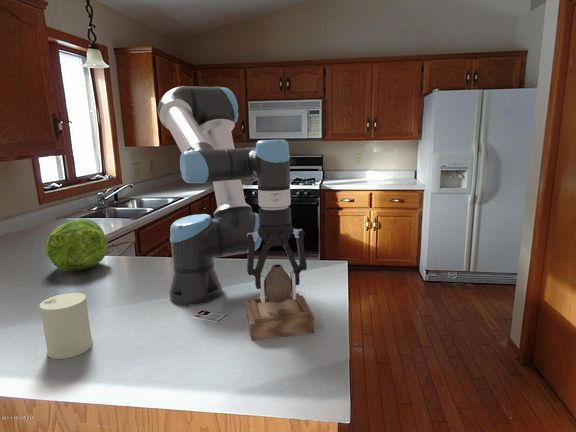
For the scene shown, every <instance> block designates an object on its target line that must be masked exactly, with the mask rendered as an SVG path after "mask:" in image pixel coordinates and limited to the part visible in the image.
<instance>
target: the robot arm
mask: <svg viewBox="0 0 576 432" xmlns="http://www.w3.org/2000/svg"><path fill="white" fill-rule="evenodd" d="M157 114H158V115H157V116H158V119H159V121H160V123H161V124H162V126H163V127H165V128H166V129H167V130H169V132H170V134H171V135H172V137H173V139H174V141H175V143H176V145H177V146H178V149H179V150H180V152H181V154H180V157H179V168H180V173H181V178H182V180H183V181H184V182H185V183H188V184H204V183H212V184H213V190H214V195H215V199H216V201H215V202H216V207H217V208H216V209H215V210H214V212H213V216H214V218H213V217H212V216H211V215H210V214H207V213H201V214H199V213H198V214H192V215H187V216H184V217H181V218H178V219H176V220H175V221H174V222H172V224H171V225H170V230H169V231H170V237H169V241H170V243H171V244H170V245H171V253H172V265H173V266H172V268H173V275H172V279H171V282H170V287H169V290H168V291H169V299H170V301H171V302H172V303H174V304H177V305H183V306H194V305H195V306H196V305H202V304H207V303H210V302H213V301H215V300H217V299H218V298H220V297H221V295H222V294H223V285H222V282H221V280H220V278H219V275H218V274H217V270H216V268H215V259H217V258H222V257H228V256H235V255H241V254H242V255H244V254H247V263H246V264H247V265H246V267H247V268H246V272H247V274H248V275H249V276H254V282H255V283H254V284H255V288H256V290H259V293H260V296H259V297H260V298H261V302H262V303H265V296H266V295H265V293H264V279H265V277H264V274H263V273H262V272H263V269H264V266H265V263H266V259H267V256H268V253H269V251H270V249H271V247H283V248H284V251H285V253H286V255H287V258H288V261H289V263H290V265H291V268H292V270H290V271H289V277H290V279H291V283H292V290H291V297H292V299H293V300H296V293H297V292H296V287H297V286H300V281H301V280H300V274H301V272H302V271H306V270H307V268H308V266H307V259H306V252H305V243H304V237H305V234H306V233H305V231H304V230H303V229H302V228H298V229H297V228H294V227H293V226H292V207H290V206H291V204H292V203H291V170H290V169H291V163H290V162H291V155H290V148H289V146H290V145H289V142H288V141H287V140H286V139H261V140H258V141H257V142H256V143H255V146H250V147H246V148H245V147H244V148H235V145H234V139H233V135H232V131H233V130H234V128H235V126H236V123H237V122H238V119H239V105H238V101H237V97H236V96H235V94H234V92H233V91H232V90H231V89H229V88H227V87H223V86H221V87H220V86H216V85H215V86H191V85H190V86H188V85H186V86H185V85H181V86H177V87H174V88H172V89H170V90H168V91H167V92H166V93H164V95H163V96H162V97H161V98H160V100H159V103H158V106H157ZM248 179H249V180H250V179H257V199H258V200H257V202H258V203H257V205H258V206H259V207H260V208H259V209H258V213H256V212H253V210H252V206H251V205H250V204H248V203H246V200H245V193H244V189H243V184H242V180H248ZM292 235H293V236H294V238H295V239H296V240H295V241H296V247H297V254H298V259H299V264H297V260H296V258H295V256H294V254H293V251H292V249H291V246H290V243H289V242H288V241H289V240H290V238H291V237H292ZM262 241H263V242H262ZM261 243H262V247H261V250H260V254H259V257H258V260H257V263H256V266H255V265H254V263H255V251H257V250H258V249H259V248H260V245H261ZM254 266H255V267H254Z"/></svg>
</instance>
